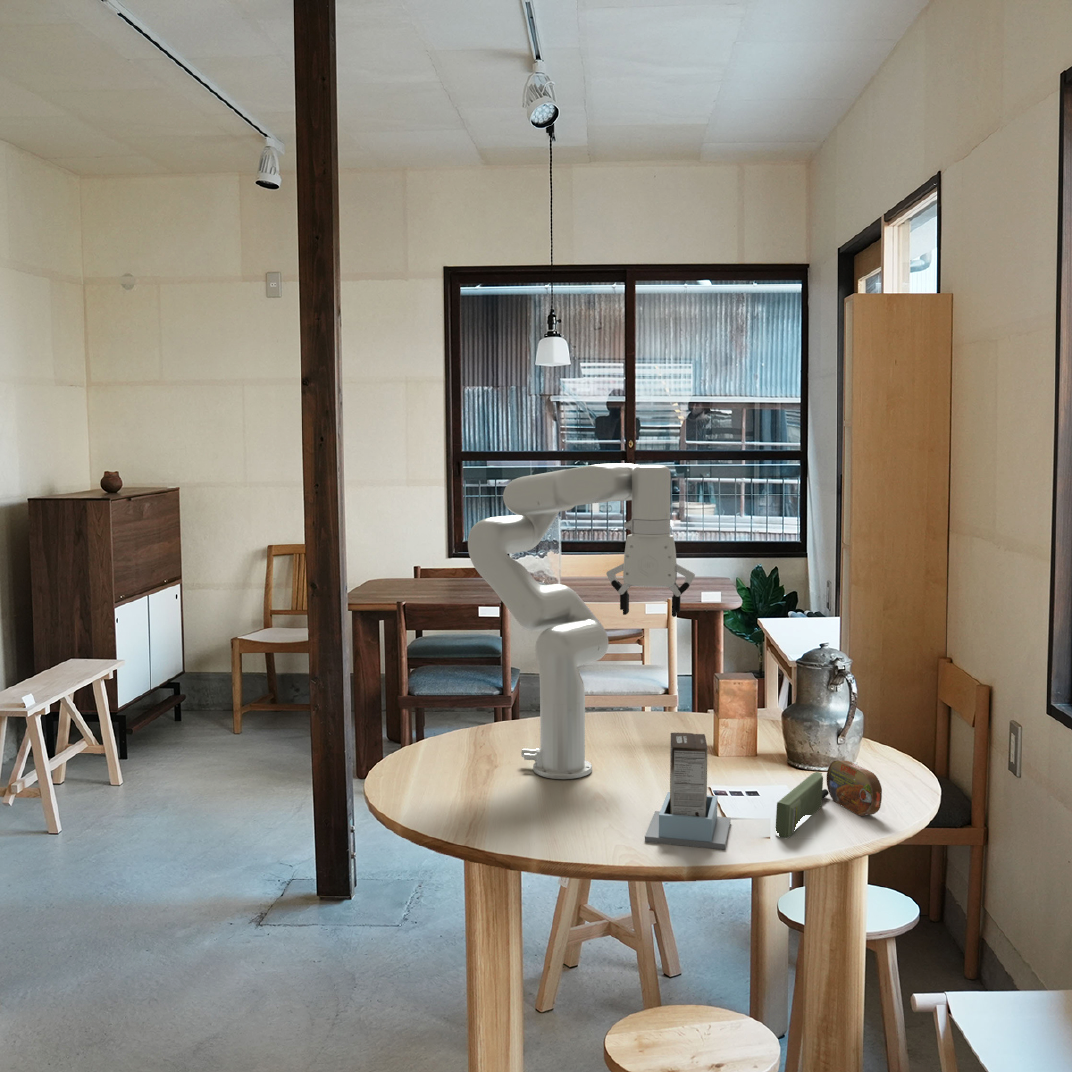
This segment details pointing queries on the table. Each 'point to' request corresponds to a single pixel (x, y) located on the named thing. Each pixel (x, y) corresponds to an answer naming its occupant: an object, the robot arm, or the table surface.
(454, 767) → the table surface
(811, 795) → the handheld radio
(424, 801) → the table surface
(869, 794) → the tin
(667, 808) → the light blue open box
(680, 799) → the coffee box
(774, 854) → the table surface
